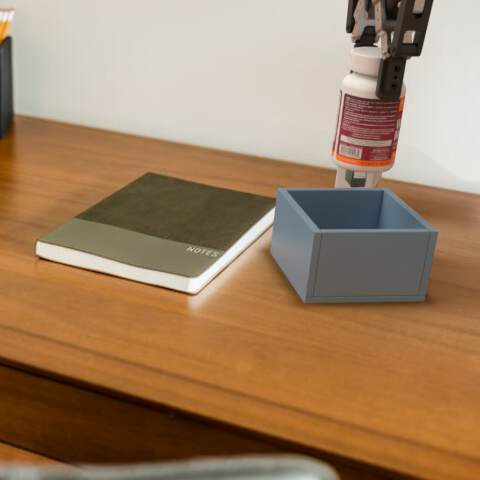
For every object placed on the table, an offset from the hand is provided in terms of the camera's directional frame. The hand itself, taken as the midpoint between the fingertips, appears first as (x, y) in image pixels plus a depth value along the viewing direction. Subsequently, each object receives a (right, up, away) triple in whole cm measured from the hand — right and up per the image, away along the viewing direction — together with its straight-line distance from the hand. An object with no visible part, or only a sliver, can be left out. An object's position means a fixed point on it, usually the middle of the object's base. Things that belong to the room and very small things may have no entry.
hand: (373, 89), depth 87 cm
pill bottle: (0, -7, +3) cm, 8 cm away
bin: (-1, -19, +9) cm, 20 cm away
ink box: (+6, -11, +29) cm, 31 cm away
